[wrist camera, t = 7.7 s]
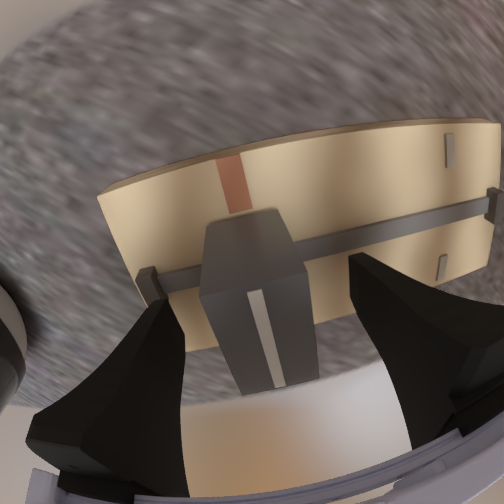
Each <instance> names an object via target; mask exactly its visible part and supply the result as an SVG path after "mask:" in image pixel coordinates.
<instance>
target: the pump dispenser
mask: <svg viewBox="0 0 504 504" xmlns="http://www.w3.org/2000/svg"><path fill="white" fill-rule="evenodd" d="M26 353H27V337H26V331H25V326H24V323H23V320H22V317H21V315H20V312H19V310H18V309H17V307H16V305H15V303H14V302H13V300H12V299H11V297H10V296H9V295H8V293H7V292H6V291H5V290H4V289H3V288H2V287H1V286H0V416H1V414H2V413H3V411H4V410H5V408H6V407H7V405H8V404H9V402H10V401H11V399H12V398H13V396H14V394H15V393H16V391H17V390H18V388H19V386H20V384H21V382H22V380H23V378H24V375H25V371H26V366H25V360H26Z"/></svg>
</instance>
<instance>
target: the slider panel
mask: <svg viewBox="0 0 504 504" xmlns="http://www.w3.org/2000/svg"><path fill="white" fill-rule="evenodd" d="M500 163H501V124H500V123H496V122H492V121H488V120H484V119H480V118H439V119H416V120H401V121H389V122H378V123H369V124H360V125H352V126H344V127H337V128H330V129H323V130H317V131H311V132H305V133H299V134H294V135H288V136H283V137H278V138H273V139H268V140H263V141H259V142H254V143H250V144H245V145H241V146H237V147H232V148H228V149H224V150H220V151H216V152H213V153H209V154H205V155H201V156H198V157H194V158H191V159H187V160H184V161H180V162H177V163H173V164H170V165H167V166H164V167H160V168H157V169H154V170H151V171H148V172H145V173H142V174H139V175H136V176H133V177H130V178H127V179H124V180H122V181H119V182H116V183H113V184H111V185H110V186H109V187H108V188H106V189H105V190H104V191H103V192H102V193H100V194H99V195H98V196H97V198H98V201H99V203H100V206H101V208H102V211H103V213H104V216H105V218H106V221H107V223H108V226H109V228H110V230H111V233H112V235H113V237H114V240H115V242H116V244H117V247H118V249H119V251H120V253H121V255H122V258H123V260H124V262H125V264H126V266H127V268H128V270H129V273H130V275H131V277H132V279H133V281H134V283H135V285H136V287H137V289H138V291H139V293H140V295H141V297H142V299H143V301H144V303H145V304H146V306H147V308H148V306H149V305H150V304H151V303H152V302H153V301H155V300H160V299H164V298H167V299H168V301H169V303H170V305H171V307H172V309H173V312H174V314H175V316H176V318H177V320H178V322H179V324H180V326H181V328H182V330H183V332H184V334H185V352H188V351H194V350H200V349H205V348H211V347H216V346H219V344H218V342H217V339H216V337H215V335H214V332H213V330H212V328H211V325H210V323H209V321H208V318H207V316H206V314H205V311H204V309H203V306H202V304H201V302H200V299H199V288H200V278H201V268H202V259H203V250H204V241H205V233H206V226H208V225H212V224H216V223H220V222H224V221H228V220H232V219H236V218H241V217H245V216H249V215H253V214H257V213H261V212H266V211H270V210H274V209H278V211H279V213H280V215H281V217H282V219H283V221H284V223H285V225H286V227H287V229H288V231H289V233H290V235H291V237H292V240H293V242H294V244H295V246H296V248H297V250H298V252H299V254H300V256H301V259H302V261H303V263H304V265H305V267H306V269H307V271H308V278H309V286H310V294H311V302H312V310H313V318H314V324H318V323H321V322H325V321H329V320H332V319H336V318H339V317H343V316H346V315H350V314H353V313H356V311H355V308H354V306H353V303H352V301H351V299H350V291H349V263H348V255H352V254H356V253H360V252H364V253H366V254H368V255H370V256H372V257H373V258H375V259H377V260H379V261H381V262H382V263H384V264H386V265H388V266H390V267H392V268H393V269H395V270H397V271H399V272H401V273H403V274H405V275H407V276H409V277H411V278H413V279H415V280H417V281H419V282H421V283H423V284H426V285H428V286H431V287H434V286H437V285H439V284H442V283H445V282H447V281H450V280H452V279H455V278H457V277H460V276H462V275H465V274H467V273H470V272H472V271H475V270H477V269H479V268H482V267H484V266H486V265H487V261H488V257H489V252H490V247H491V242H492V237H493V231H494V225H495V224H498V223H501V218H502V211H503V203H504V192H503V191H501V190H499V181H500Z"/></svg>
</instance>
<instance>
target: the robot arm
mask: <svg viewBox="0 0 504 504" xmlns="http://www.w3.org/2000/svg"><path fill="white" fill-rule="evenodd" d="M348 263H349V291H350V299H351V301H352V303H353V306H354V308H355V311H356V313H357V315H358V317H359V319H360V321H361V323H362V324H363V326H364V328H365V330H366V331H367V333H368V335H369V336H370V338H371V340H372V342H373V343H374V345H375V347H376V349H377V350H378V352H379V354H380V356H381V357H382V359H383V361H384V363H385V365H386V368H387V370H388V373H389V375H390V378H391V380H392V383H393V385H394V388H395V391H396V394H397V397H398V400H399V402H400V405H401V409H402V412H403V415H404V419H405V422H406V426H407V430H408V434H409V438H410V441H411V446H412V451H410V452H408V453H405V454H403V455H400V456H398V457H396V458H393V459H391V460H388V461H386V462H383V463H380V464H378V465H375V466H372V467H369V468H366V469H363V470H360V471H357V472H354V473H351V474H347V475H345V476H341V477H337V478H334V479H330V480H326V481H322V482H318V483H314V484H310V485H305V486H300V487H295V488H290V489H284V490H278V491H272V492H265V493H257V494H249V495H238V496H225V497H203V498H202V497H201V498H190V495H189V491H188V485H187V480H186V475H185V468H184V461H183V452H182V441H181V424H180V403H181V393H182V384H183V375H184V365H185V334H184V332H183V330H182V328H181V326H180V324H179V322H178V320H177V318H176V316H175V314H174V312H173V309H172V307H171V305H170V303H169V301H168V299H167V298H164V299H160V300H155V301H153V302H152V303H151V304H150V305H149V306H148V308H147V309H146V310H145V311H144V313H143V314H142V315H141V317H140V318H139V319H138V321H137V322H136V323H135V324H134V326H133V327H132V328H131V330H130V331H129V332H128V334H127V335H126V336H125V337H124V339H123V340H122V341H121V342H120V343H119V345H118V346H117V347H116V348H115V349H114V351H113V352H112V353H111V354H110V355H109V356H108V358H107V359H106V360H105V361H104V362H103V363H102V364H101V365H100V366H99V367H98V368H97V369H96V370H95V371H94V372H93V373H92V374H91V375H89V376H88V377H87V378H86V379H85V380H84V381H83V382H81V383H80V384H79V385H78V386H77V387H76V388H74V389H73V390H72V391H71V392H69V393H68V394H67V395H65V396H64V397H62V398H61V399H59V400H58V401H57V402H55V403H53V404H52V405H50V406H48V407H47V408H45V409H43V410H42V411H40V412H38V413H37V414H35V415H34V416H33V419H32V422H31V425H30V428H29V431H28V434H27V437H26V441H25V442H26V444H27V446H28V447H29V448H30V449H31V450H32V451H33V452H34V453H35V454H37V455H38V456H39V457H41V458H42V459H44V460H45V461H47V462H48V463H50V464H51V465H53V466H54V467H56V468H57V469H59V470H60V474H59V476H57V475H55V474H52V473H49V472H46V471H43V470H39V469H36V468H33V470H32V474H31V478H30V482H29V487H28V492H27V497H26V503H25V504H326V503H330V502H334V501H338V500H341V499H345V498H348V497H351V496H355V495H358V494H361V493H364V492H367V491H370V490H373V489H376V488H379V487H381V486H384V485H386V484H389V483H392V482H394V481H397V480H399V479H401V480H399V481H397V482H395V483H394V485H393V487H394V488H393V489H392V490H390V491H389V492H387V493H386V494H384V495H383V496H380V497H377V498H374V499H370V500H367V501H364V502H360V503H357V504H466V503H467V502H468V501H470V500H472V499H473V498H475V497H476V496H477V495H479V494H480V493H482V492H483V491H484V490H486V489H487V488H489V487H490V486H491V485H493V484H494V483H495V482H497V481H498V480H499V479H500V478H501V477H503V476H504V306H503V305H494V304H489V303H483V302H478V301H474V300H470V299H466V298H463V297H459V296H456V295H452V294H449V293H446V292H444V291H441V290H438V289H436V288H433V287H431V286H428V285H426V284H423V283H421V282H419V281H417V280H415V279H413V278H411V277H409V276H407V275H405V274H403V273H401V272H399V271H397V270H395V269H393V268H392V267H390V266H388V265H386V264H384V263H382V262H381V261H379V260H377V259H375V258H373V257H372V256H370V255H368V254H366V253H364V252H360V253H356V254H352V255H348ZM406 476H407V477H406ZM404 477H405V478H404ZM402 478H403V479H402Z"/></svg>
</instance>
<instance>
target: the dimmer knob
mask: <svg viewBox="0 0 504 504" xmlns="http://www.w3.org/2000/svg"><path fill="white" fill-rule="evenodd" d="M199 299H200V302H201V304H202V306H203V309H204V311H205V314H206V316H207V318H208V321H209V323H210V325H211V328H212V330H213V332H214V335H215V337H216V339H217V342H218V344H219V346H220V348H221V351H222V353H223V355H224V357H225V360H226V362H227V364H228V366H229V368H230V370H231V373H232V375H233V377H234V379H235V381H236V383H237V385H238V387H239V390H240V392H241V394H242V395H247V394H253V393H258V392H263V391H268V390H273V389H277V388H282V387H286V386H291V385H295V384H299V383H303V382H307V381H311V380H315V379H318V378H319V367H318V356H317V346H316V336H315V327H314V318H313V310H312V302H311V294H310V286H309V278H308V271H307V269H306V267H305V265H304V263H303V261H302V259H301V256H300V254H299V252H298V250H297V248H296V246H295V244H294V242H293V240H292V237H291V235H290V233H289V231H288V229H287V227H286V225H285V223H284V221H283V219H282V217H281V215H280V213H279V211H278V209H274V210H270V211H266V212H261V213H257V214H253V215H249V216H245V217H241V218H236V219H232V220H228V221H224V222H220V223H216V224H212V225H208V226H206V233H205V241H204V250H203V259H202V268H201V278H200V288H199Z"/></svg>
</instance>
